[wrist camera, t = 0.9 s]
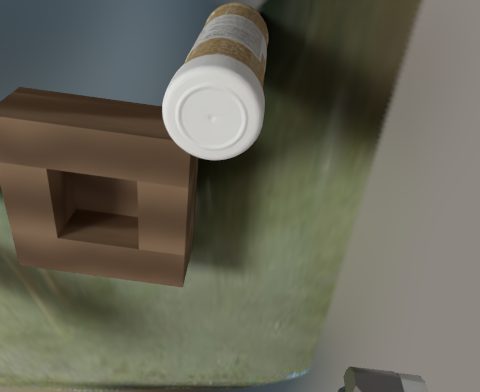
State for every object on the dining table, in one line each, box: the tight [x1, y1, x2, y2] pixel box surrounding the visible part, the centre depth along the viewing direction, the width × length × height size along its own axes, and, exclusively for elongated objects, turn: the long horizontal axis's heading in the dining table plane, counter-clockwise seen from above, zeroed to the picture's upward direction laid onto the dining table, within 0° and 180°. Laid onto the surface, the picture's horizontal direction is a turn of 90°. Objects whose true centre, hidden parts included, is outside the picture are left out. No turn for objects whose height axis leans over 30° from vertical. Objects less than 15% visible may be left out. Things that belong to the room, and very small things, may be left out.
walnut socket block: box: [0, 87, 198, 287], centre depth 36 cm, size 14×14×5 cm
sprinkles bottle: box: [162, 2, 269, 160], centre depth 25 cm, size 5×5×14 cm
